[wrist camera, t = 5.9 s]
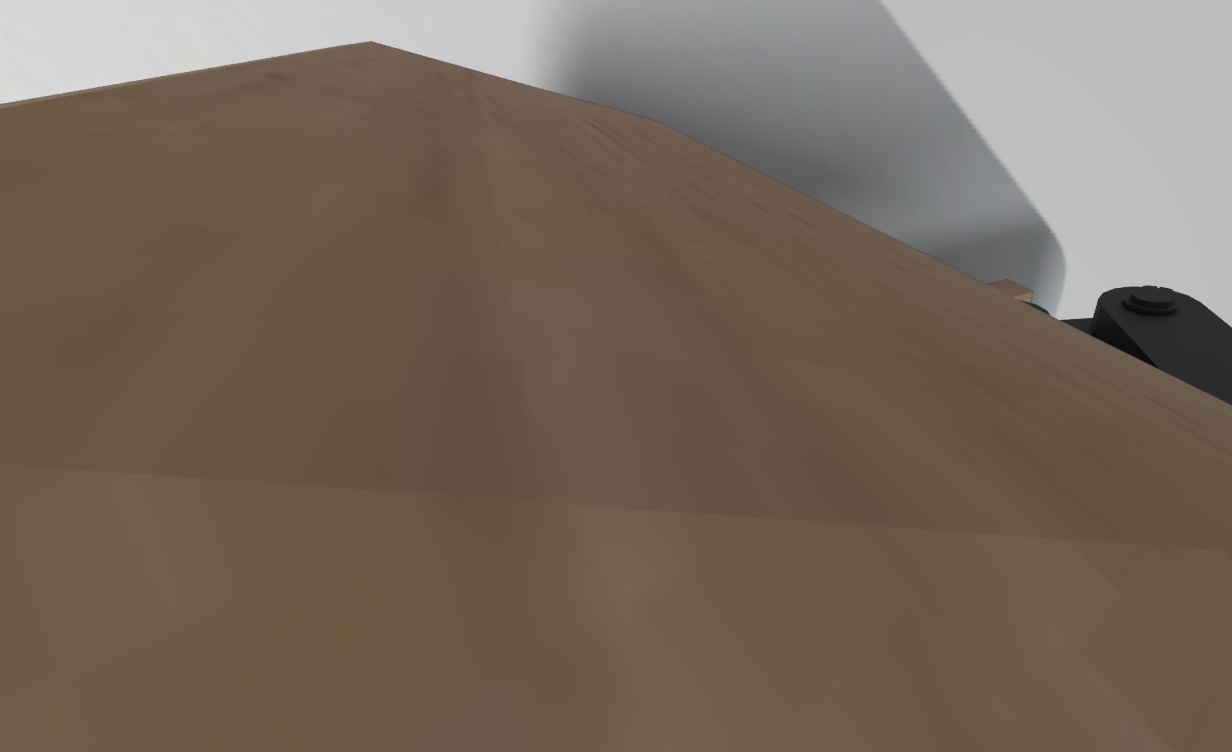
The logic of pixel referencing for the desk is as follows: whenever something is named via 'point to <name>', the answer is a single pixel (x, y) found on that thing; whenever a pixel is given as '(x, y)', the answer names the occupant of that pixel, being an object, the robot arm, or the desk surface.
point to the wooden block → (556, 447)
